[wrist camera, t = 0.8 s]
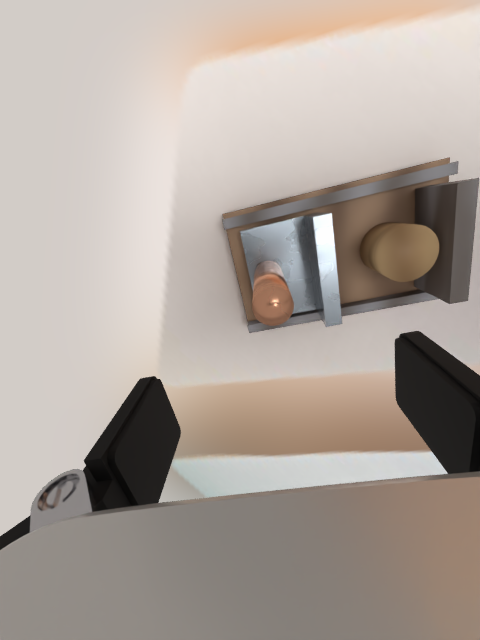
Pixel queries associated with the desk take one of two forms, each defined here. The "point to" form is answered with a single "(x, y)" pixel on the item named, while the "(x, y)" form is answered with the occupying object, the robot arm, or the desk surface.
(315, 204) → the press base
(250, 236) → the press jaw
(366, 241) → the tan round peg
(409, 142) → the desk surface
